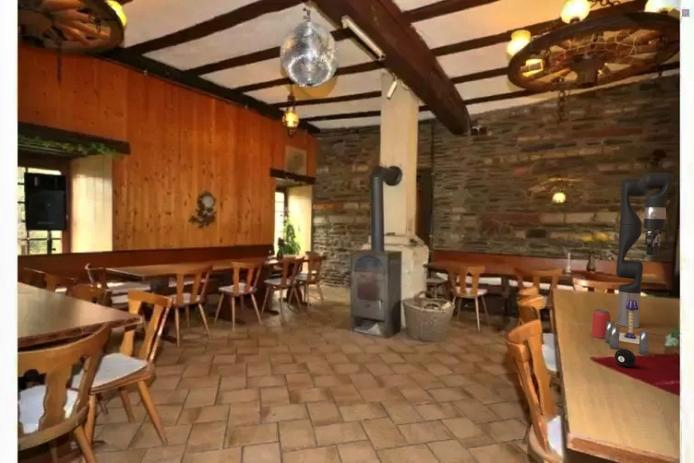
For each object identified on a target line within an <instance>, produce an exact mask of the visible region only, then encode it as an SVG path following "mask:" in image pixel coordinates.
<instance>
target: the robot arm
mask: <svg viewBox="0 0 694 463" xmlns="http://www.w3.org/2000/svg"><path fill="white" fill-rule="evenodd" d="M673 181H674V180H673V175H672V174H671V173H669V172H648V173H644V175H643V176H642V177H641V178H624V179H622V181H621V183H620V214H619V215H620V216H619V226H618V227H619V229H618V249H617V250H618V251H617V260H616V266H615V267H616V268H615V270H616V271H615V272H616V273H615V274H616V276H617V277H618V278H619V279H632V281H631V282H629V283H624V284H619V286H618V293H617V310H616V311H617V312H616V325H617V326H620V327H621V326H622V327H626V328H628V327H629V325H628V324H629V309H626V308H625V307H626V304H627V301H628V300H636V302H637V305H638V310H634V312H633V313H634V316H633V329H634V328H635V329H636V328H639V326H640V310H641V295H642V294H641V293H642V279H643V273H644V264H643V263H642V261H640V260H629V259H625V258H626V256H627V254H628V252H629V251H630V249H631V248H632V247H633V246H634V245H635V244H636V242H638V240H639V239H640V238H641V235H642V229H645V230H646V231H645V239H644V240H645V241H644V245H645V246H646V251H645V254H646V255H647V256H653V255H656V256H657V255H659V252H660V250H659V249H660V246H661V245H662V231H660V230H665V229H666V221H667V217H666V216H667V209H666V204H667V197H668V193H669V191H670V188H671V186H672V184H673ZM657 189H659V191H658V192H657V193H650V192H651V191H654V190H657ZM648 193H650V194H648ZM644 196H646V198H645V203H644V204H645V208H644V214H643V222H642V220H641V218H640V217H639V215H638V214H637V212H636V211H635V210H634V207H632V203H631V201H630V198H636V197H637V198H638V197H640V198H641V197H644ZM642 223H643V228H642Z"/></svg>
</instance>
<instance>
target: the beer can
mask: <svg viewBox="0 0 694 463" xmlns="http://www.w3.org/2000/svg"><path fill="white" fill-rule="evenodd" d="M606 321H611V313H610V311H609V310H606V309H599V308H598V309H597V308H595V309H594V312H593V315H592V326H591V327H592V328H591V336H593V337H594V338H597V339H601V340H605V334H606Z"/></svg>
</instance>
